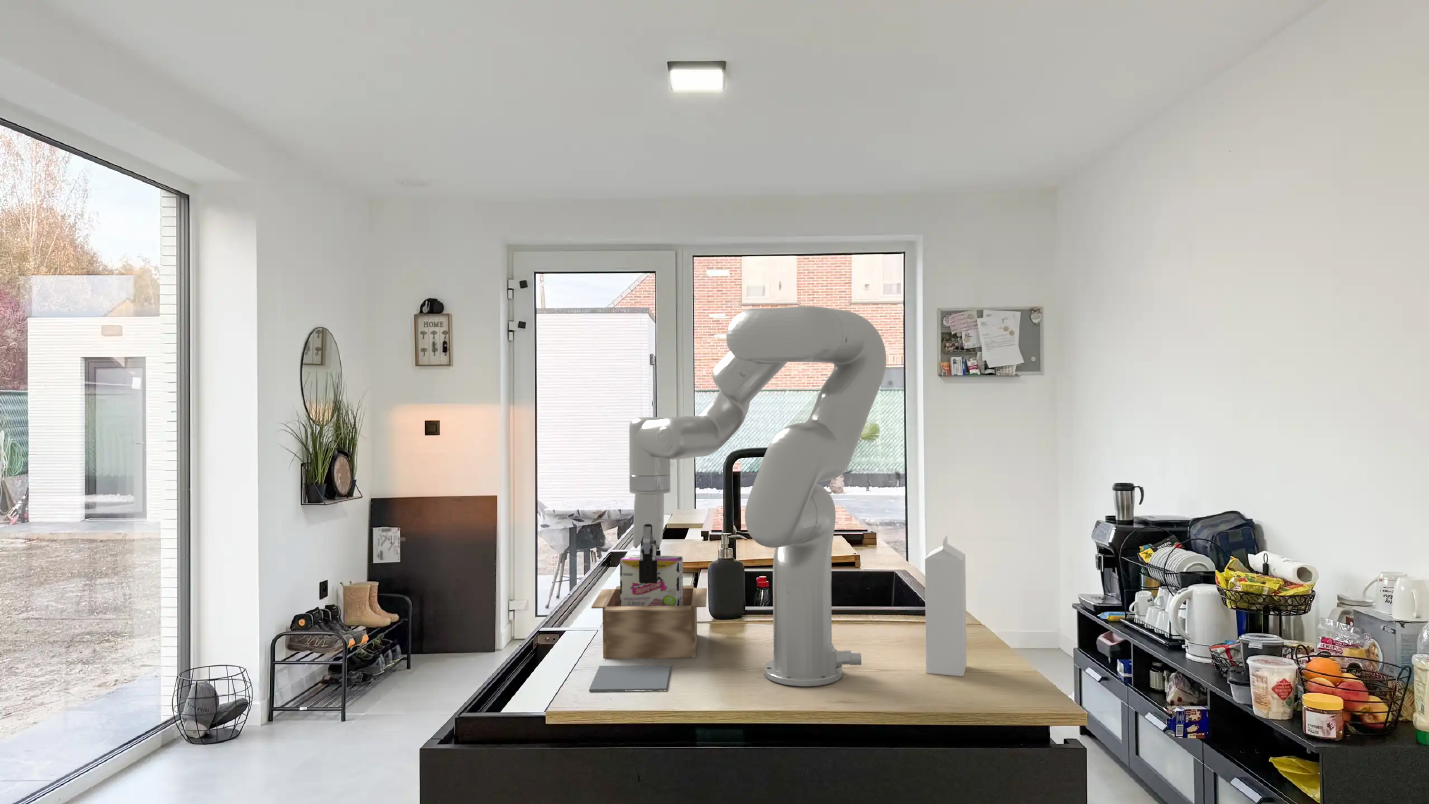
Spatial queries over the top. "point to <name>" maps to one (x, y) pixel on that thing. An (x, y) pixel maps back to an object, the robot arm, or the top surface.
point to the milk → (945, 611)
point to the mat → (630, 678)
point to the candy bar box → (652, 594)
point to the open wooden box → (650, 626)
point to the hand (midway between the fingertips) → (650, 576)
